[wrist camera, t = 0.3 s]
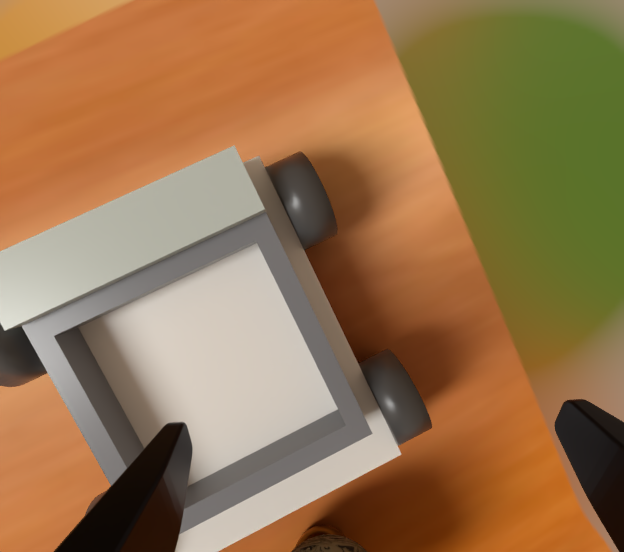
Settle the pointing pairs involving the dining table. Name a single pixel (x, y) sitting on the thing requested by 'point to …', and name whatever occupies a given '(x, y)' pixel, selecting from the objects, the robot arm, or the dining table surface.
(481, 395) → the dining table surface
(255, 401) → the car chassis
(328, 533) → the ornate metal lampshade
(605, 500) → the robot arm
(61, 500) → the dining table surface
